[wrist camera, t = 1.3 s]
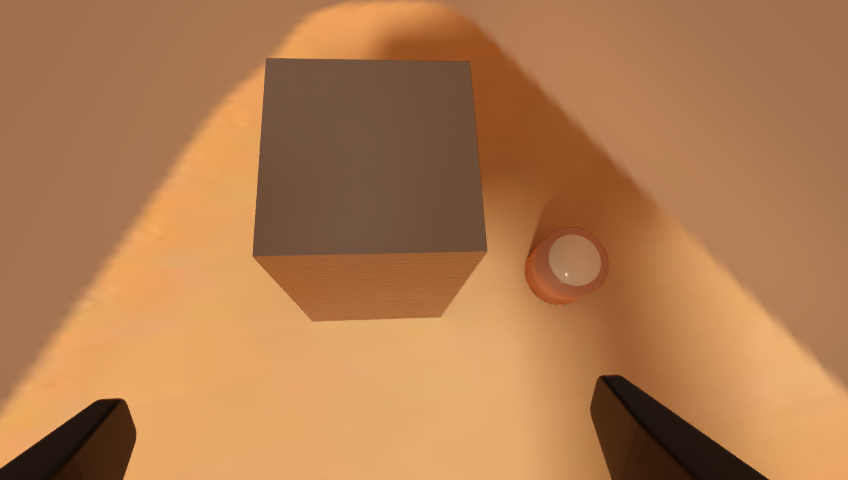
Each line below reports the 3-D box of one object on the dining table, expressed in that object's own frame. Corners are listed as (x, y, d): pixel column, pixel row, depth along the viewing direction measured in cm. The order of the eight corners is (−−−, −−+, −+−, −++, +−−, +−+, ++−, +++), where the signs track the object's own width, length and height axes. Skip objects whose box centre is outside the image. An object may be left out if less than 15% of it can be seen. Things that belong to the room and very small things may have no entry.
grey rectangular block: (440, 317, 23) (487, 251, 12) (312, 321, 22) (252, 256, 12) (433, 201, 25) (469, 61, 14) (315, 202, 24) (266, 57, 14)
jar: (591, 303, 24) (615, 293, 21) (528, 305, 23) (545, 295, 21) (581, 242, 24) (603, 225, 22) (521, 243, 24) (536, 227, 22)
